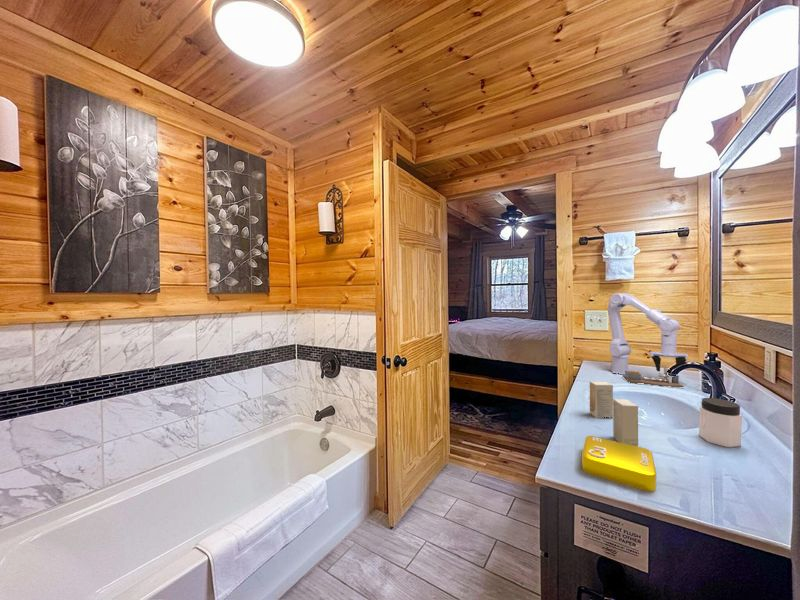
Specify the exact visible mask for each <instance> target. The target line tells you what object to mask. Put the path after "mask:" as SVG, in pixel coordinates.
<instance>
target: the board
mask: <svg viewBox="0 0 800 600" xmlns="http://www.w3.org/2000/svg"><path fill="white" fill-rule="evenodd" d="M621 375H622V376H623V377H624V378H625V379H626V380H627V382H628V383H629V382H630V383H629V384H631V383H644V384H651V385H650V386H653V385H663V386H662V387H664V386H671V387H670V388H674V387H684V388H685V386H684V385H683V384H681V383H679V384H676V383H669V382H667V381H655V380H645V379H644V378H643V377H644V376H641V381H639V380H628V379H627V378H626V377H625V374H621ZM622 376H621V377H622ZM623 377H622V378H623ZM624 378H623V379H624ZM649 378H653V377H651V376H649ZM660 378H661V377H660ZM625 379H624V380H625ZM661 379H664V377H662V378H661ZM626 380H625V381H626Z"/></svg>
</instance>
